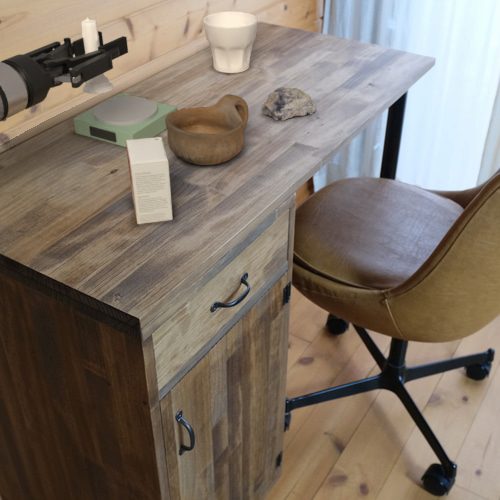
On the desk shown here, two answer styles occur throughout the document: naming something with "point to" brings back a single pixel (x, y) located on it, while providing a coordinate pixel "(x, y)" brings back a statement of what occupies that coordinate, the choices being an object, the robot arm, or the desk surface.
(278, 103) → the mineral specimen
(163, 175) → the small box
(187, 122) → the bowl
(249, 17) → the cup
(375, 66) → the desk surface
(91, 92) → the candle
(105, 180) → the desk surface
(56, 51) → the robot arm
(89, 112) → the scale
